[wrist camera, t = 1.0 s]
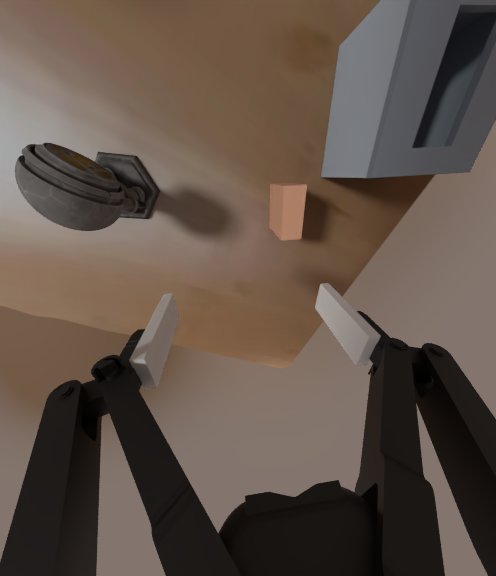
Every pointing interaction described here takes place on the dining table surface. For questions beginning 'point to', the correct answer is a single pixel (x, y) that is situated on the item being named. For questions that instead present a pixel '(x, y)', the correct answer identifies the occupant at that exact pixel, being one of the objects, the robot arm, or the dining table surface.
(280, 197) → the peach rectangular block
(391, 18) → the coin box
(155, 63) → the dining table surface
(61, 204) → the figurine
